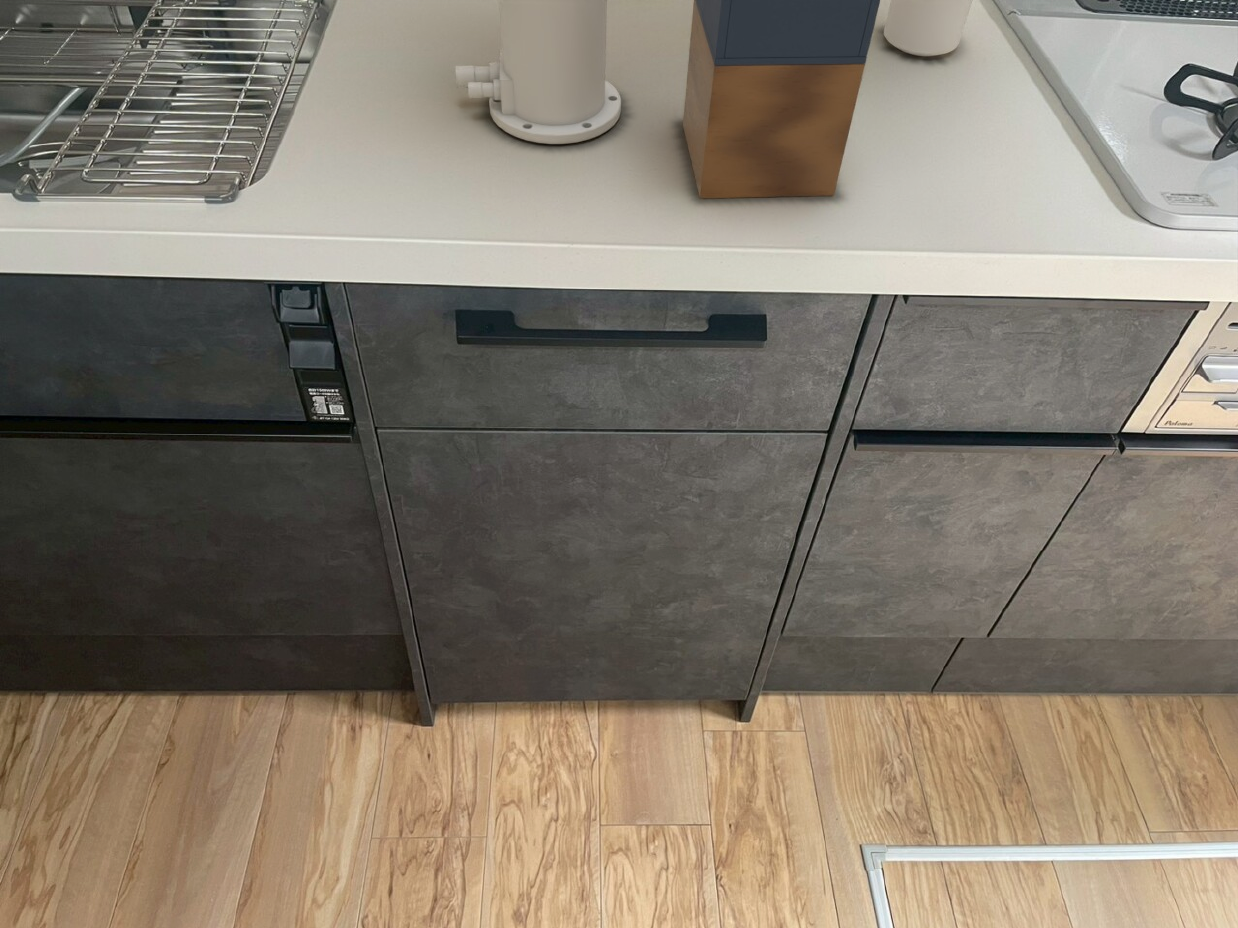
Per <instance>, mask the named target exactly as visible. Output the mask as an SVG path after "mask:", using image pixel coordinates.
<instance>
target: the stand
mask: <svg viewBox="0 0 1238 928" xmlns="http://www.w3.org/2000/svg"><path fill="white" fill-rule="evenodd" d="M690 29H691V30H690V39H689V49H688V62H687V73H686V85H685V86H686V87H685V96H684V105H683V106H684V108H683V116H682V118H683V119H682V128H683V132H684V136H685V141H686V145H687V149H688V154H689V158H690V162H691V166H692V170H693V175H694V178H695V184H696V189H697V192H698V193H697V194H698V197H699V199H738V198H739V199H740V198H743V199H744V198H775V197H776V198H780V197H781V198H783V197H784V198H785V197H788V198H789V197H826V196H828V197H829V196H835V193H836V188H837V184H838V180H839V176H840V171H841V167H842V163H843V159H844V155H845V151H846V146H847V144H848V143H847V142H848V138H849V133H850V130H851V125H852V121H853V117H854V112H855V108H856V105H857V100H858V96H859V91H860V88H861V83H862V79H863V75H864V71H865V67H866V63H865V64H811V65H724V66H715V65H714V61H713V58H712V55H711V51H710V48H709V45H708V41H707V38H706V34H705V31H704V28H703V24H702V21H701V18H700V14H699V11H698V8H697V4H696V1H695V0H693V5H692V18H691V27H690Z"/></svg>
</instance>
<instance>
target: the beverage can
mask: <svg viewBox="0 0 1238 928" xmlns="http://www.w3.org/2000/svg"><path fill="white" fill-rule="evenodd" d="M973 1H974V0H890V4H889V7H888V11H887V15H886V19H885V23H884V28H883V36H884V38H885V39H886V41H887V42H888V43H889V44H891V45H892V46H894V47H895V48H896V49H898V50H899V51H901V52H903V53H906V54H909V55H914V56H917V57H918V56H919V57H936V56H941V55H945V54H948V53H951V52H953V51H954V50H956V49H957V48H958V47H959V45H960V42H961V39H962V37H963V33H964V29H965V26H966V23H967V21H968V20H967V19H968V16H969V14H970V10H971V7H972V4H973Z"/></svg>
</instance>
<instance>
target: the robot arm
mask: <svg viewBox="0 0 1238 928" xmlns="http://www.w3.org/2000/svg"><path fill="white" fill-rule="evenodd" d="M498 7H499V8H498V10H499V23H500V25H499V26H500V36H501V37H500V41H501V50H500V51H499V61H492V62H489V63H488V64H489V65H487V66H482V65H481V66H478V65H477V66H475V65H455V83H456V88H457V89H459V88H461V89H462V88H467V93H468V98H469V99H483V98H489V100H488V101H489V102H488V103H489V113H490V116H491V118H492V121H493V122H494V123H495V124H496V125H497V127H499V128H500V129H502V130H503V131H504V132H505V133H507V134H509V135H511V136H513V137H515V138H518V139H521V140H524V141H527V142H532V143H536V144H546V145H566V144H567V145H568V144H574V143H580V142H583V141H588V140H591V139H593V138H596V137H599V136H600V135H602V134H604V133H606V132H607V131H609V130H610V129H611V128H613V127H614V126H615V125H616V123H617V122H618V120H619V119H620V116H621V113H622V99H621V94H620V93H619V91H618V90H617V88H616V87H615V86H614V85H613V84H612V83H610V81H608V80H606V67H607V66H606V65H607V63H606V62H607V61H606V59H607V16H608V15H607V13H608V12H607V9H608V0H498Z"/></svg>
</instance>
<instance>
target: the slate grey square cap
mask: <svg viewBox="0 0 1238 928" xmlns="http://www.w3.org/2000/svg"><path fill="white" fill-rule="evenodd" d="M695 1H696V4H697V8H698V11H699V14H700V18H701V21H702V24H703V28H704V31H705V34H706V38H707V41H708V45H709V48H710V51H711V55H712V58H713V61H714V65H715V66H724V65H811V64H865V65H866V62H867V57H868V53H869V49H870V45H871V41H872V37H873V33H874V29H875V24H876V20H877V15H878V11H879V9H880V8H879V7H880V3H881V0H695Z"/></svg>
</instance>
